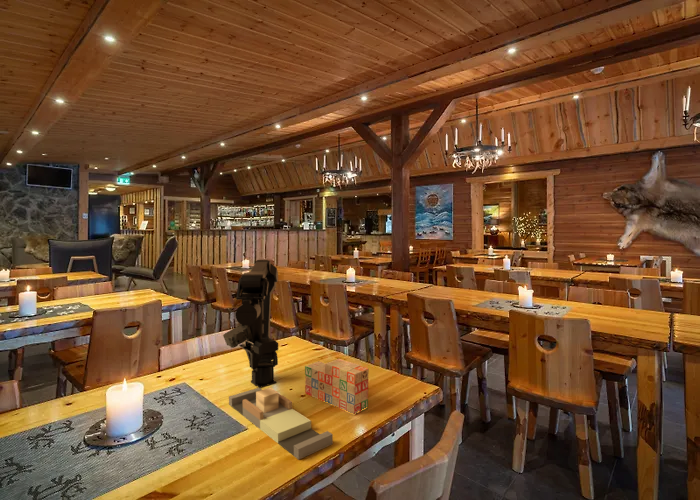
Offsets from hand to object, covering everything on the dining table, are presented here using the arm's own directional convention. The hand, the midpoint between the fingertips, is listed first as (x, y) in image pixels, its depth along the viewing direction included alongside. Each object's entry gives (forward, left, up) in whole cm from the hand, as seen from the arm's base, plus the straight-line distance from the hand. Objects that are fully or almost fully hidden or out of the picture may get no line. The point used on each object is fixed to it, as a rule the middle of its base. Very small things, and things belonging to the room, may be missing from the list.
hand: (253, 369), depth 117 cm
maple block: (0, +8, -9) cm, 12 cm away
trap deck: (0, +12, -11) cm, 17 cm away
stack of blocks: (-21, +12, -12) cm, 27 cm away
